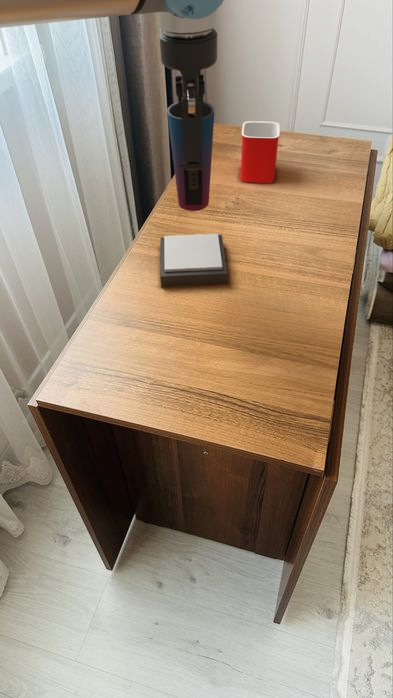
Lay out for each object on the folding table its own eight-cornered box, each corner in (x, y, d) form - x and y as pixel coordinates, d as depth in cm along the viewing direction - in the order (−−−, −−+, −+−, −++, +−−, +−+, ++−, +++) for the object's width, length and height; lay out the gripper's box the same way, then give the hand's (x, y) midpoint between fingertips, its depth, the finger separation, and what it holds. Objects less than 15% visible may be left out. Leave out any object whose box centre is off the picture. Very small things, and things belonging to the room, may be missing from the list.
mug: (274, 184, 114) (279, 138, 106) (238, 182, 115) (240, 137, 107) (275, 159, 122) (280, 115, 114) (242, 158, 123) (244, 114, 115)
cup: (221, 199, 83) (223, 105, 72) (200, 218, 79) (198, 123, 68) (187, 188, 85) (184, 96, 74) (165, 206, 82) (157, 113, 71)
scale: (161, 286, 90) (160, 273, 88) (161, 247, 99) (160, 234, 96) (227, 283, 91) (227, 270, 88) (221, 244, 99) (221, 232, 97)
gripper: (223, 52, 57) (220, 224, 75) (212, 8, 70) (212, 163, 87) (158, 55, 57) (170, 227, 74) (159, 10, 70) (169, 165, 87)
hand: (193, 192), depth 81 cm, fingers closed on cup, 6 cm apart
